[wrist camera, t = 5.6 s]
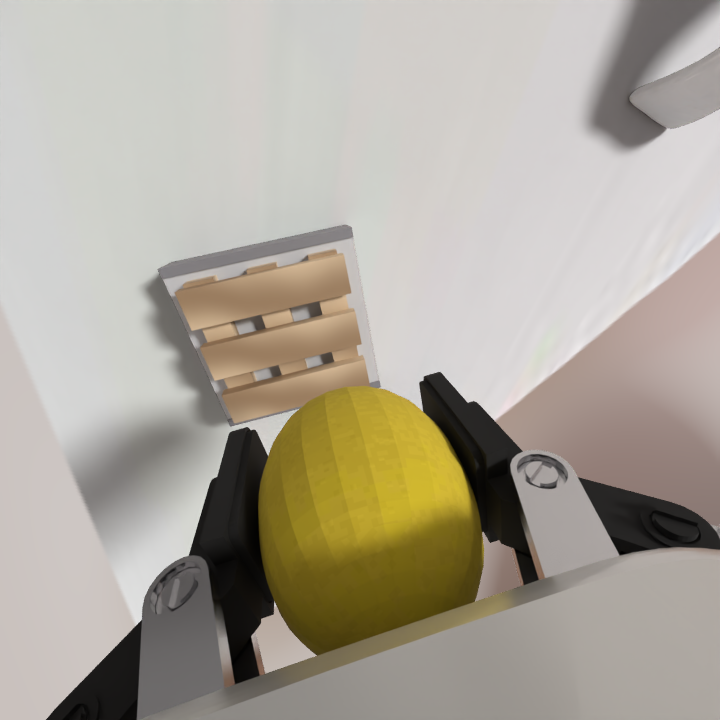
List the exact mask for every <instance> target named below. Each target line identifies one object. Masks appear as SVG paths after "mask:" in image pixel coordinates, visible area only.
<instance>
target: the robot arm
mask: <svg viewBox="0 0 720 720" xmlns="http://www.w3.org/2000/svg"><path fill="white" fill-rule="evenodd" d="M419 385H420V392H421V399H422V405H423V412H424V413H425V414H426V415H427V416H428V417H429V418H430V419H432V420H433V421H434V422H435V423H436V424H437V426H438V427H439V428H440V429H441V430H442V432H443V433H444V434H445V436H446V437H447V439H448V440H449V442H450V444H451V446H452V447H453V449H454V451H455V453H456V454H457V456H458V458H459V460H460V462H461V463H462V465H463V468H464V470H465V472H466V474H467V476H468V479H469V481H470V484H471V487H472V490H473V493H474V496H475V499H476V503H477V507H478V511H479V516H480V522H481V529H482V532H484V533H485V535H486V537H487V538H488V540H489V542H490V543H491V542H494V541H497V540H500V542H501V543H502V544H504V545H506V546H509V547H511V551H512V555H513V558H514V563H515V567H516V571H517V574H518V578H519V582H520V587H517V588H514V589H512V590H509V591H505V592H502V593H499V594H497V595H494V596H491V597H488V598H485V599H482V600H479V601H476V602H473V603H470V604H467V605H464V606H461V607H458V608H455V609H452V610H449V611H446V612H443V613H440V614H437V615H434V616H431V617H429V618H426V619H423V620H420V621H417V622H414V623H411V624H408V625H405V626H402V627H399V628H396V629H393V630H391V631H388V632H385V633H382V634H379V635H376V636H373V637H370V638H367V639H364V640H361V641H359V642H356V643H353V644H350V645H347V646H344V647H341V648H338V649H335V650H332V651H330V652H327V653H324V654H321V655H318V656H315V657H312V658H309V659H307V660H304V661H301V662H298V663H295V664H292V665H289V666H287V667H284V668H281V669H278V670H275V671H272V672H269V673H267V674H265V671H264V666H263V662H262V658H261V654H260V649H259V645H258V641H257V637H256V633H255V631H256V629H257V628H258V627H259V625H260V624H261V618H264V617H267V616H270V615H273V614H274V599H273V596H272V593H271V591H270V588H269V586H268V583H267V579H266V575H265V571H264V567H263V562H262V557H261V550H260V541H259V517H258V501H259V489H260V482H261V478H262V474H263V471H264V468H265V465H266V462H267V459H268V455H267V453H266V451H265V449H264V447H263V444H262V442H261V440H260V438H259V436H258V434H257V432H256V430H250V429H249V428H248V427H246V428H242V429H239V430H235V431H232V432H230V433H229V436H228V440H227V443H226V447H225V451H224V454H223V458H222V462H221V465H220V469H219V473H218V476H217V477H216V478H214V479H213V480H212V481H211V483H210V485H209V489H208V492H207V496H206V499H205V502H204V506H203V509H202V513H201V516H200V519H199V523H198V526H197V530H196V533H195V537H194V540H193V543H192V547H191V550H190V554H189V556H187V557H183V558H181V559H179V560H177V561H175V562H174V563H172V564H171V565H169V566H168V567H167V568H165V569H164V570H163V571H162V572H161V573H160V574H159V575H158V576H157V577H156V579H155V580H154V582H153V583H152V584H151V586H150V587H149V589H148V591H147V594H146V596H145V598H144V603H143V609H142V620H141V621H140V622H139V623H138V624H137V625H136V626H135V627H134V628H133V629H132V631H131V632H130V633H129V634H128V635H127V636H126V637H125V638H124V639H123V640H122V641H121V642H120V643H119V644H118V645H117V646H116V647H115V648H114V649H113V650H112V651H111V652H110V653H109V654H108V655H107V656H106V657H105V658H104V659H103V660H102V661H101V662H100V663H99V665H97V666H96V667H95V669H94V670H93V671H92V672H91V673H90V674H89V675H88V676H87V677H86V678H85V679H84V680H83V681H82V682H81V683H80V684H79V685H78V686H77V687H76V688H75V689H74V690H73V691H72V692H71V693H70V694H69V695H68V696H67V697H66V698H65V699H64V700H63V701H62V703H61V704H59V706H58V707H57V708H56V709H55V710H54V711H53V712H52V713H51V715H50V716H49V717H48V718H47V719H46V720H720V524H719V526H718V527H717V526H713V525H710V524H709V523H708V522H707V521H706V520H704V519H703V518H702V517H700V516H699V515H698V514H696V513H695V512H693V511H691V510H689V509H687V508H685V507H683V506H680V505H677V504H675V503H672V502H668V501H665V500H661V499H657V498H654V497H650V496H646V495H642V494H639V493H635V492H631V491H627V490H623V489H620V488H616V487H612V486H608V485H605V484H601V483H597V482H593V481H590V480H586V479H582V478H578V477H577V476H576V473H575V471H574V469H573V468H572V467H571V466H570V464H569V463H568V462H567V461H565V460H564V459H563V458H562V457H560V456H558V455H556V454H553V453H551V452H547V451H543V450H528V451H522V450H521V449H520V448H519V447H518V446H517V445H516V444H515V443H514V442H513V440H512V439H511V438H510V437H509V436H508V435H507V434H506V433H505V432H504V431H503V430H502V429H501V428H500V426H499V425H498V424H497V423H496V422H495V421H494V420H493V419H492V418H491V417H490V416H489V415H488V414H487V412H486V411H485V410H484V409H483V408H482V407H481V406H480V405H479V404H478V403H477V402H474V401H473V402H469V403H467V402H466V400H465V399H464V398H463V397H462V396H461V395H460V394H459V393H458V391H457V390H456V389H455V388H454V387H453V386H452V385H451V383H450V382H449V381H448V380H447V379H446V378H445V377H444V375H443V374H442V373H441V372H437V373H434V374H430V375H427V376H424V381H421V382H420V383H419Z"/></svg>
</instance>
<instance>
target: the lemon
mask: <svg viewBox="0 0 720 720" xmlns="http://www.w3.org/2000/svg"><path fill="white" fill-rule="evenodd" d="M258 517H259V541H260V550H261V557H262V562H263V567H264V571H265V575H266V579H267V583H268V586H269V588H270V591H271V593H272V596H273V599H274V601H275V603H276V605H277V607H278V609H279V612H280V614H281V616H282V618H283V619H284V621H285V622H286V624H287V626H288V627H289V629H290V630H291V631H292V632H293V633H294V635H295V636H296V637H297V638H298V639H299V640H300V641H301V642H302V643H303V644H304V645H305V646H306V647H307V648H309V649H310V650H311V651H312V652H313V653H315V654H316V655H317V656H318V655H321V654H324V653H327V652H330V651H332V650H335V649H338V648H341V647H344V646H347V645H350V644H353V643H356V642H359V641H361V640H364V639H367V638H370V637H373V636H376V635H379V634H382V633H385V632H388V631H391V630H393V629H396V628H399V627H402V626H405V625H408V624H411V623H414V622H417V621H420V620H423V619H426V618H429V617H431V616H434V615H437V614H440V613H443V612H446V611H449V610H452V609H455V608H458V607H461V606H464V605H467V604H470V603H473V602H475V599H476V596H477V592H478V588H479V584H480V579H481V574H482V570H483V562H484V545H483V537H482V529H481V522H480V516H479V511H478V507H477V503H476V499H475V496H474V493H473V490H472V487H471V484H470V481H469V479H468V476H467V474H466V472H465V470H464V468H463V465H462V463H461V462H460V460H459V458H458V456H457V454H456V453H455V451H454V449H453V447H452V446H451V444H450V442H449V440H448V439H447V437H446V436H445V434H444V433H443V432H442V430H441V429H440V428H439V427H438V426H437V424H436V423H435V422H434V421H433V420H432V419H430V418H429V417H428V416H427V415H426V414H425V413H424V412H423V411H421V410H420V409H419V408H418V407H417V406H416V405H415V404H413V403H412V402H410V401H409V400H407V399H405V398H403V397H401V396H398V395H396V394H394V393H392V392H390V391H387V390H385V389H379V388H374V387H369V386H351V387H343V388H339V389H335V390H332V391H328V392H326V393H324V394H322V395H320V396H318V397H316V398H314V399H312V400H310V401H309V402H307V403H306V404H305V405H304V406H302V407H301V408H300V409H299V410H298V411H297V412H295V413H294V414H293V415H292V416H291V417H290V419H289V420H288V421H287V423H286V424H285V425H284V427H283V428H282V430H281V431H280V433H279V434H278V436H277V437H276V439H275V441H274V443H273V445H272V448H271V450H270V453H269V456H268V459H267V462H266V465H265V468H264V471H263V474H262V478H261V482H260V489H259V501H258Z"/></svg>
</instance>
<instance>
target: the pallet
mask: <svg viewBox="0 0 720 720" xmlns="http://www.w3.org/2000/svg"><path fill="white" fill-rule="evenodd" d="M308 259H309V260H308V261H303V262H299V263H294V264H290V265H285V266H281V267H278V265H277V261H276V262H272V263H267V264H263V265H258V266H254V267H249V268H248V269H247V270H246V271H247V274H245V275H241V276H236V277H232V278H227V279H223V280H218V278H217V275H213V276H209V277H204V278H200V279H195V280H191V281H187V282H186V283H184V284H183V287H184V288H182V289H179V290H177V291H176V292H175V295H176V297H177V299H178V301H179V304H180V306H181V308H182V310H183V312H184V315H185V317H186V319H187V321H188V323H189V326H190V328H191V330H192V331H193V330H198V329H202V331H203V333H204V335H205V337H206V340H207V343H203V344H202V346H201V347H200V350H201V352H202V354H203V356H204V358H205V361H206V363H207V365H208V367H209V369H210V372H211V374H212V376H213V378H214V380H215V381H216V380H220V379H224V381H225V383H226V385H227V387H228V389H225V390H224V391H223V393H222V398H223V400H224V402H225V404H226V407H227V409H228V411H229V413H230V415H231V418H232V420H233V422H234V424H235V423H239V422H243V421H246V420H250V419H254V418H258V417H262V416H266V415H269V414H273V413H277V412H281V411H285V410H289V409H292V408H296V407H300V406H304V405H305V404H306V403H307V402H309V401H310V400H312V399H314V398H316V397H318V396H320V395H322V394H324V393H326V392H328V391H332V390H335V389H339V388H343V387H351V386H369V387H370V383H369V378H368V373H367V368H366V363H365V359H364V357H363V355H360V356H359V355H358V350H357V345H361V344H362V343H361V338H360V333H359V328H358V323H357V318H356V313H355V310H354V308H350V309H349V307H348V302H347V298H346V295H347V294H351V288H350V283H349V278H348V273H347V268H346V263H345V257H344V254H343V253H339V254H337V250H336V249H331V250H326V251H322V252H317V253H312V254H308ZM317 301H319V303H320V307H321V311H322V315H320V316H316V317H312V318H308V319H304V320H299V321H295V322H294V319H293V316H292V312H291V309H290V308H291V307H296V306H300V305H304V304H308V303H313V302H317ZM257 315H262V318H263V321H264V324H265V327H266V329H262V330H257V331H253V332H249V333H245V334H241V335H239V332H238V330H237V327H236V324H235V322H234V321H236V320H240V319H244V318H249V317H253V316H257ZM329 352H332V355H333V359H334V362H332V363H328V364H324V365H320V366H316V367H312V368H308V367H307V363H306V360H305V358H308V357H312V356H316V355H321V354H325V353H329ZM276 365H279V368H280V371H281V374H282V375H281V376H277V377H273V378H269V379H265V380H261V381H257V379H256V376H255V374H254V371H256V370H260V369H264V368H268V367H272V366H276Z"/></svg>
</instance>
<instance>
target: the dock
mask: <svg viewBox="0 0 720 720" xmlns="http://www.w3.org/2000/svg"><path fill="white" fill-rule="evenodd" d="M331 249H336V250H337V254H339V253H343V254H344V257H345V263H346V268H347V273H348V278H349V283H350V288H351V294H347V295H346V298H347V302H348V307H349V309H350V308H354V310H355V313H356V318H357V323H358V328H359V333H360V338H361V343H362V344H361V345H357V350H358V355H359V356H360V355H363V357H364V359H365V363H366V368H367V373H368V378H369V383H370V387H374V388H380V387H381V386H380V381H379V376H378V371H377V365H376V360H375V354H374V349H373V343H372V338H371V332H370V327H369V321H368V316H367V311H366V305H365V300H364V294H363V289H362V283H361V278H360V272H359V267H358V261H357V256H356V250H355V245H354V239H353V233H352V227H350V226H348V225H342V226H337V227H332V228H328V229H323V230H319V231H314V232H309V233H305V234H300V235H295V236H291V237H286V238H282V239H277V240H272V241H268V242H263V243H258V244H254V245H249V246H245V247H240V248H235V249H231V250H226V251H221V252H217V253H212V254H208V255H203V256H198V257H194V258H189V259H184V260H180V261H175V262H171V263H169V264H167V265H165V266H163V267H161V268H159V269H157V270H158V272H159V274H160V276H161V278H162V279H163V281H164V283H165V285H166V287H167V290H168V292H169V294H170V296H171V298H172V300H173V302H174V305H175V307H176V309H177V311H178V313H179V315H180V318H181V320H182V322H183V324H184V326H185V328H186V330H187V333H188V335H189V337H190V339H191V341H192V343H193V345H194V348H195V350H196V352H197V354H198V356H199V358H200V361H201V363H202V365H203V367H204V369H205V371H206V373H207V376H208V378H209V380H210V382H211V384H212V386H213V389H214V391H215V393H216V395H217V397H218V399H219V401H220V404H221V406H222V408H223V410H224V412H225V414H226V417H227V419H228V422H229V424H230V426H234V425H238V424H242V423H246V422H250V421H254V420H257V419H261V418H265V417H269V416H273V415H277V414H280V413H284V412H288V411H292V410H296V409H299V408H301V407H302V406H300V407H296V408H292V409H289V410H285V411H281V412H277V413H273V414H269V415H266V416H262V417H258V418H254V419H250V420H246V421H243V422H239V423H235V424H234V422H233V420H232V418H231V415H230V413H229V411H228V409H227V407H226V404H225V402H224V400H223V398H222V393H223V391H224V390H225V389H228V387H227V385H226V383H225V381H224V379H220V380H216V381H215V380H214V378H213V376H212V374H211V372H210V369H209V367H208V365H207V363H206V361H205V358H204V356H203V354H202V352H201V350H200V347H201V346H202V344H203V343H207V340H206V337H205V335H204V333H203V331H202V329H198V330H193V331H192V330H191V328H190V326H189V323H188V321H187V319H186V317H185V315H184V312H183V310H182V308H181V306H180V304H179V301H178V299H177V297H176V295H175V292H176V291H177V290H179V289H182V288H184V287H183V284H184V283H186V282H187V281H191V280H195V279H200V278H204V277H209V276H213V275H217V278H218V280H223V279H227V278H232V277H236V276H241V275H245V274H247V271H246V270H247V269H248V268H249V267H254V266H258V265H263V264H267V263H272V262H276V261H277V265H278V267H281V266H285V265H290V264H294V263H299V262H303V261H308V260H309V259H308V254H312V253H317V252H322V251H326V250H331ZM290 309H291V312H292V316H293V319H294V322H295V321H299V320H304V319H308V318H312V317H316V316H320V315H322V311H321V307H320V303H319V301H317V302H313V303H308V304H304V305H300V306H296V307H291V308H290ZM234 322H235V324H236V327H237V330H238V332H239V335H241V334H245V333H249V332H253V331H257V330H262V329H266V327H265V324H264V321H263V318H262V315H257V316H253V317H249V318H244V319H240V320H236V321H234ZM305 360H306V363H307V367H308V368H312V367H316V366H320V365H324V364H328V363H332V362H334V359H333V355H332V352H329V353H325V354H321V355H316V356H312V357H308V358H305ZM254 374H255V376H256V379H257V381H261V380H265V379H269V378H273V377H277V376H281V375H282V374H281V371H280V368H279V365H276V366H272V367H268V368H264V369H260V370H256V371H254Z"/></svg>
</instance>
